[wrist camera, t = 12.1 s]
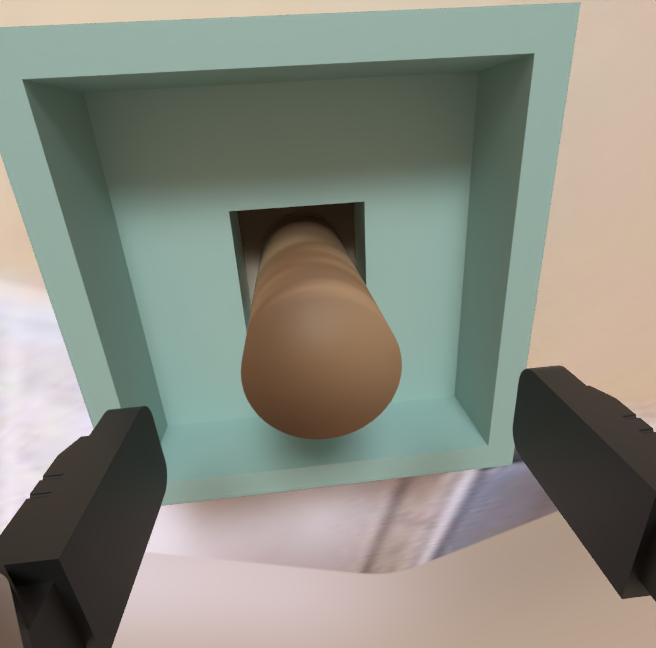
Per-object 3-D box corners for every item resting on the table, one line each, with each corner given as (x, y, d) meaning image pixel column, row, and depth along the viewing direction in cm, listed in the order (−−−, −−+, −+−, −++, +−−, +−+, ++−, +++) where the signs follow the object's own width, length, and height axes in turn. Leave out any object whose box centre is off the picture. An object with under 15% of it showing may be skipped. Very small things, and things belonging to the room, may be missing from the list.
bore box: (478, 48, 19) (580, 2, 12) (454, 383, 26) (512, 464, 19) (75, 68, 18) (-42, 29, 11) (163, 412, 24) (121, 510, 18)
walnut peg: (339, 210, 21) (403, 290, 10) (343, 288, 23) (401, 430, 12) (257, 216, 21) (229, 305, 10) (266, 295, 22) (252, 447, 11)
